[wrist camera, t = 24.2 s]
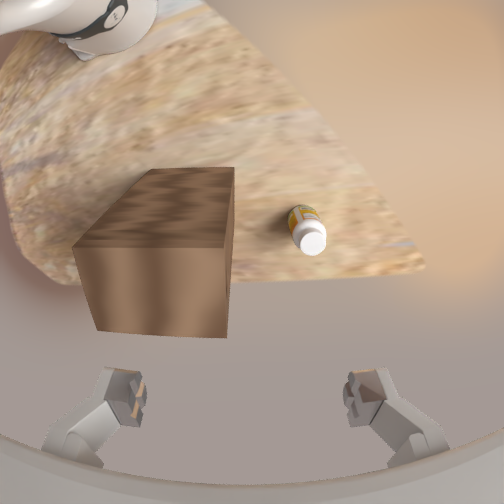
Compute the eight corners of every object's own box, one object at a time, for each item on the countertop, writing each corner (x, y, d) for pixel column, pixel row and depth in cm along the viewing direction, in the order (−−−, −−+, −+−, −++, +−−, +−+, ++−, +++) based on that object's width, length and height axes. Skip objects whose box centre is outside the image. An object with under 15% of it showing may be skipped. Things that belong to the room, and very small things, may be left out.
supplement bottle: (296, 237, 56) (305, 266, 48) (281, 214, 54) (288, 239, 46) (322, 223, 55) (336, 248, 47) (308, 198, 53) (320, 221, 44)
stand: (145, 250, 57) (90, 361, 32) (136, 170, 50) (49, 247, 25) (234, 251, 57) (228, 372, 33) (234, 167, 50) (223, 248, 25)
